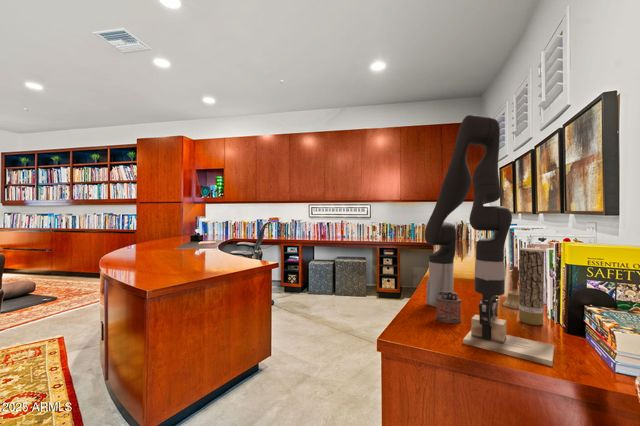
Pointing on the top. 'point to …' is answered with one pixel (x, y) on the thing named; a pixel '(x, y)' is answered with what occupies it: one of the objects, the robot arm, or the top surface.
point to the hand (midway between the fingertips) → (488, 335)
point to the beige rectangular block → (496, 329)
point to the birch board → (516, 348)
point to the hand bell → (513, 291)
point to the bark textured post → (531, 286)
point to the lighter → (448, 307)
